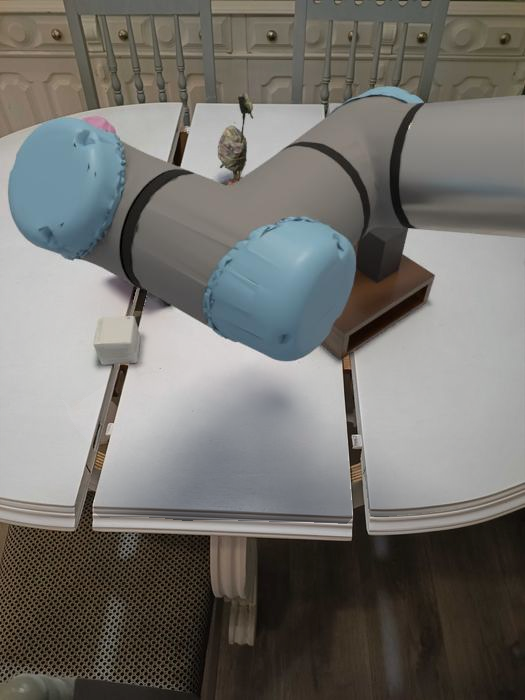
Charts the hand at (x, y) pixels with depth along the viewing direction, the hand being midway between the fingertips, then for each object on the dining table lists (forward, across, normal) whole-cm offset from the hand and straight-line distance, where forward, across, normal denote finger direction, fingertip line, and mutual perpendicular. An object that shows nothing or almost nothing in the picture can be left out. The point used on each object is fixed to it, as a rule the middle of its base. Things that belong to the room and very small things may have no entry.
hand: (304, 283), depth 63 cm
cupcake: (+32, -71, +4) cm, 78 cm away
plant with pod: (+39, -40, +10) cm, 57 cm away
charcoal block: (+26, -1, +6) cm, 27 cm away
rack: (+27, -2, -1) cm, 27 cm away
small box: (+6, -26, -22) cm, 34 cm away
